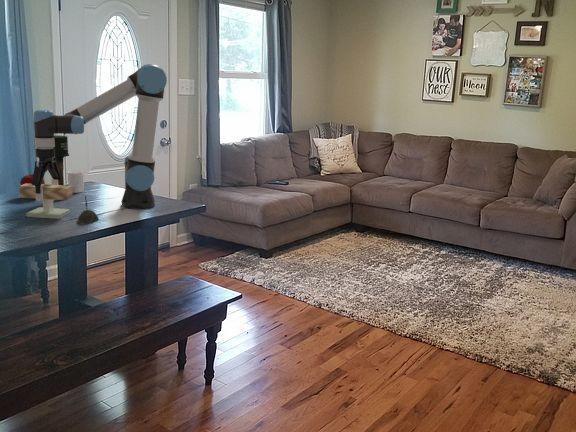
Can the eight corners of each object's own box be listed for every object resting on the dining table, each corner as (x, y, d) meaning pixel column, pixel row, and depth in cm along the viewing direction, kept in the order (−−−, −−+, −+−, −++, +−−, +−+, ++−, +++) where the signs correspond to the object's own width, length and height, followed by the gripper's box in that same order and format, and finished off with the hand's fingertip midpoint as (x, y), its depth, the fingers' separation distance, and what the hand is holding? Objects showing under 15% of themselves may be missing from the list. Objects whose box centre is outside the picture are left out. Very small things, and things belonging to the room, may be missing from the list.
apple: (21, 195, 286) (19, 171, 283) (45, 194, 290) (43, 171, 287) (21, 200, 276) (19, 175, 273) (45, 199, 280) (44, 175, 277)
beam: (72, 197, 255) (72, 185, 254) (67, 200, 249) (66, 188, 248) (26, 194, 255) (25, 183, 254) (19, 197, 250) (19, 186, 248)
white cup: (64, 191, 298) (63, 172, 296) (75, 189, 305) (75, 170, 303) (77, 193, 295) (76, 174, 293) (88, 191, 302) (87, 171, 300)
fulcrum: (70, 212, 259) (69, 195, 257) (58, 218, 248) (57, 201, 246) (39, 210, 260) (38, 193, 258) (26, 216, 249) (25, 199, 248)
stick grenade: (64, 202, 277) (61, 137, 270) (48, 200, 279) (44, 136, 271) (74, 198, 285) (72, 136, 278) (58, 197, 287) (55, 134, 279)
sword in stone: (82, 217, 252) (82, 190, 249) (100, 219, 252) (101, 192, 249) (73, 223, 242) (73, 195, 240) (92, 225, 242) (93, 197, 240)
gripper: (51, 143, 260) (53, 191, 265) (20, 151, 235) (23, 203, 241) (67, 144, 259) (69, 192, 264) (38, 152, 235) (41, 204, 240)
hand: (47, 197), depth 252 cm, fingers open, 13 cm apart
